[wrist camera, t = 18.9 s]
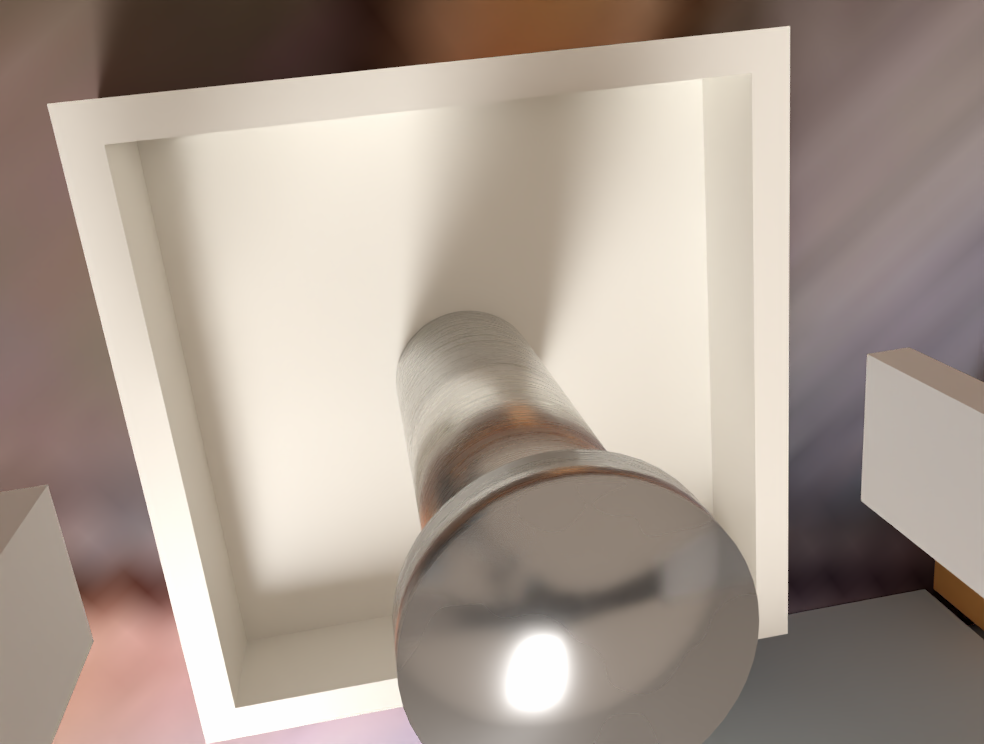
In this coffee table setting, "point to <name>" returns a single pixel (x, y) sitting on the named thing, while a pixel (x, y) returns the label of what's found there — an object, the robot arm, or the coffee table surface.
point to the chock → (959, 594)
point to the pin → (552, 565)
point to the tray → (426, 318)
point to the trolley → (864, 678)
